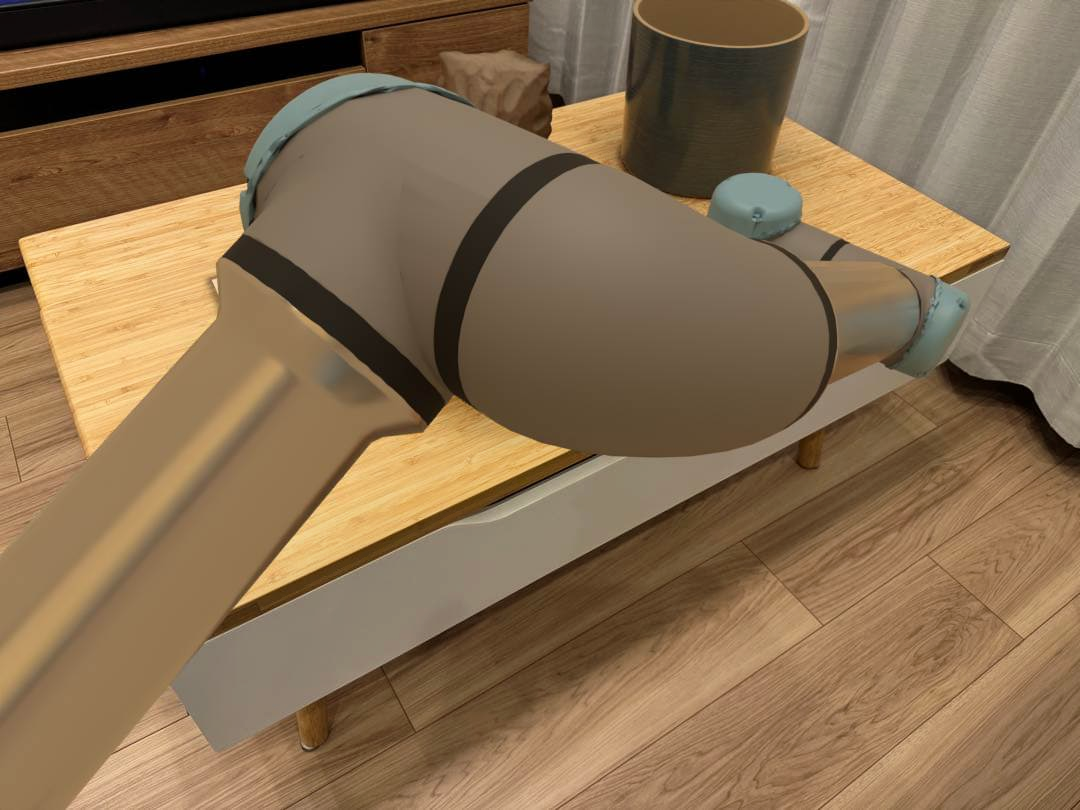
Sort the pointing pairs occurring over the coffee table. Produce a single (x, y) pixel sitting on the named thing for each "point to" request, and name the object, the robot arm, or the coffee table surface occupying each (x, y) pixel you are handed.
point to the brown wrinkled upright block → (501, 86)
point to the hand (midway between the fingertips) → (393, 302)
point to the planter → (708, 89)
